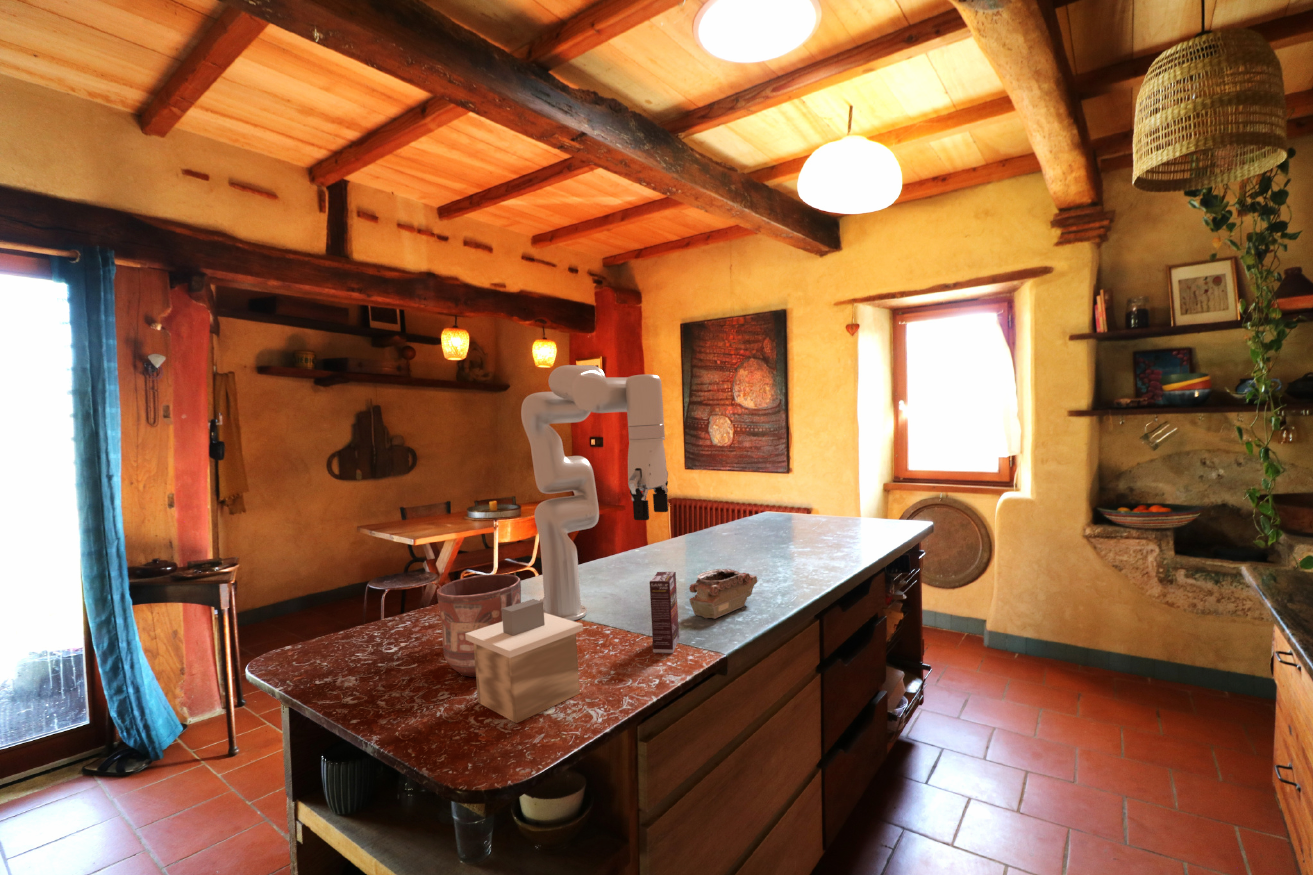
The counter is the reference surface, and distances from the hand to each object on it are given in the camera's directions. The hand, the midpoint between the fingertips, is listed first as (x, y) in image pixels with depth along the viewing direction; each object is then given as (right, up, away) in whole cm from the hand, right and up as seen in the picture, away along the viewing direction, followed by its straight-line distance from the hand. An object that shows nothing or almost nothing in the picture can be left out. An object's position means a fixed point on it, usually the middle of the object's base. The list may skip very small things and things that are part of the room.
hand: (651, 515), depth 126 cm
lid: (-24, -21, -13) cm, 34 cm away
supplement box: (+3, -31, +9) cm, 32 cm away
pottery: (-36, -33, +4) cm, 49 cm away
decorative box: (+18, -29, +34) cm, 48 cm away
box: (-23, -33, -12) cm, 42 cm away
